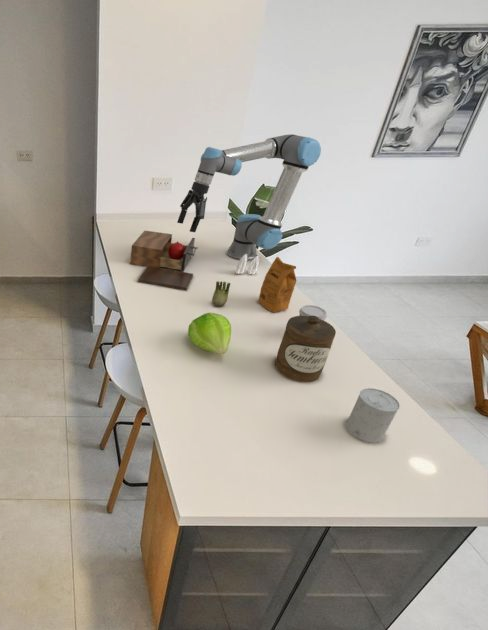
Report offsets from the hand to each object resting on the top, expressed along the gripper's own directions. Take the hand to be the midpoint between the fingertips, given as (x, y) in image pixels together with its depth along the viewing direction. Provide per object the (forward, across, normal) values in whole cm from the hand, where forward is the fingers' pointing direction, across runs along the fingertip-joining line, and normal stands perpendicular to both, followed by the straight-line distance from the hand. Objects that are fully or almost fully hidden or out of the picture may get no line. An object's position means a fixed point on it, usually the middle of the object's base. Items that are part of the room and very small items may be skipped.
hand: (185, 227), depth 203 cm
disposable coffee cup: (+20, +62, +31) cm, 73 cm away
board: (+27, +2, -2) cm, 27 cm away
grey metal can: (+25, +110, +16) cm, 114 cm away
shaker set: (+17, +5, +39) cm, 43 cm away
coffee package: (+19, +38, +33) cm, 54 cm away
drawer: (+23, -17, +11) cm, 30 cm away
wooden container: (+25, +80, +15) cm, 85 cm away
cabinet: (+26, -25, 0) cm, 36 cm away
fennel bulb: (+25, +32, +11) cm, 42 cm away
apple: (+22, -17, +11) cm, 30 cm away
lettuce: (+30, +61, -9) cm, 68 cm away
